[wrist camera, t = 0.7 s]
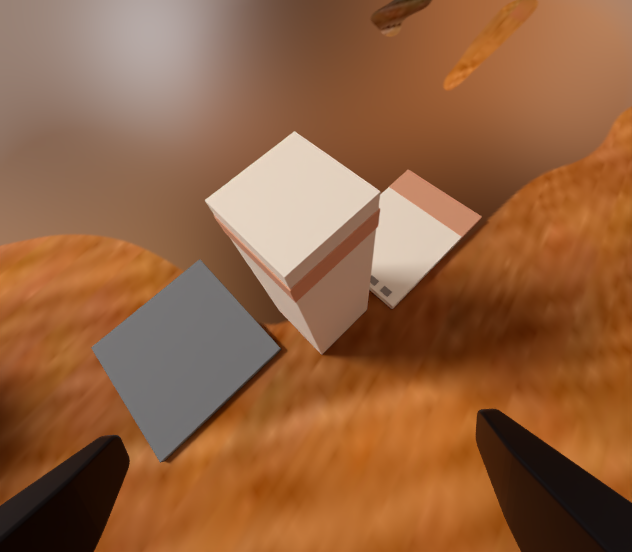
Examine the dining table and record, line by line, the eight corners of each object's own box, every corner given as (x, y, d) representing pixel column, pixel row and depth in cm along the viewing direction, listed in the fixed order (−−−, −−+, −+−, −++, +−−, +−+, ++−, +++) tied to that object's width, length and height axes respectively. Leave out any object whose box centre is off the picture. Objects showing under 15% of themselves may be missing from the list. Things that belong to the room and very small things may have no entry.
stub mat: (281, 349, 22) (280, 348, 22) (163, 461, 20) (160, 462, 20) (201, 261, 26) (199, 259, 26) (95, 348, 24) (91, 347, 23)
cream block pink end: (407, 174, 27) (408, 169, 27) (478, 221, 25) (482, 216, 24) (323, 250, 25) (322, 245, 25) (392, 309, 23) (393, 306, 22)
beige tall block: (367, 309, 23) (382, 191, 11) (321, 355, 22) (283, 279, 10) (323, 269, 25) (294, 130, 13) (278, 310, 24) (202, 200, 12)
